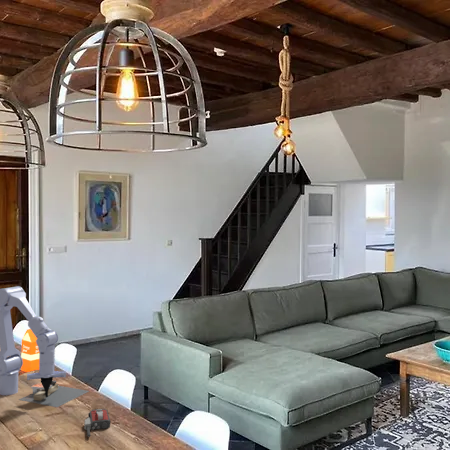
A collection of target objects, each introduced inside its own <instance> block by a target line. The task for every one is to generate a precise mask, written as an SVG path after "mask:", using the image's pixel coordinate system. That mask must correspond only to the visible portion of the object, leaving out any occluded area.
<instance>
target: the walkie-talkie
mask: <svg viewBox="0 0 450 450" xmlns="http://www.w3.org/2000/svg"><path fill="white" fill-rule="evenodd" d="M87 415H88V417H87V418H86V419H84V431H85V430H86V436H87V437H88V438H90V437H91V430H102V429H109V428H110V427H111V419H110V414H109V411H108V409H106V408H98V409H91V410H90V411H89V412H88V413H87Z"/></svg>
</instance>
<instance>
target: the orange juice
mask: <svg viewBox="0 0 450 450" xmlns="http://www.w3.org/2000/svg"><path fill="white" fill-rule="evenodd" d="M36 340H37V338H36V336H35V335H34V333H33V332H32V330H31V329H30V328H29V329H26V331H25V333H24V335H23V337H22V339H21V352H20V355H21V357H22V360H23V365H22V367H21V368H20V371H22V372H24V373H30V372H33V371H39V350H38V345H37V343H36Z"/></svg>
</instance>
